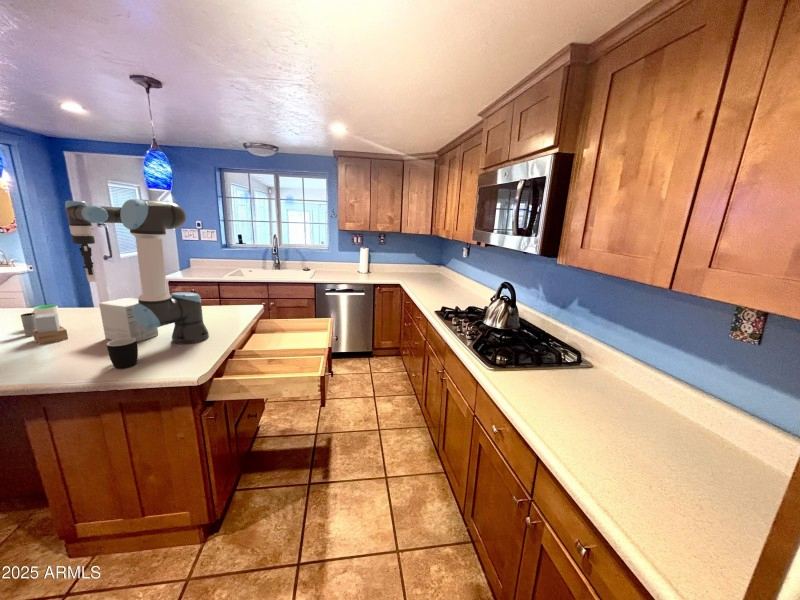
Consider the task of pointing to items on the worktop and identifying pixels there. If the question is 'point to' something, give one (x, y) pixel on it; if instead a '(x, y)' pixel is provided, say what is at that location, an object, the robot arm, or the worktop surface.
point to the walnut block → (50, 336)
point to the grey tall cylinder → (29, 323)
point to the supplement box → (123, 321)
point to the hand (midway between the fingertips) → (91, 279)
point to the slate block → (47, 322)
